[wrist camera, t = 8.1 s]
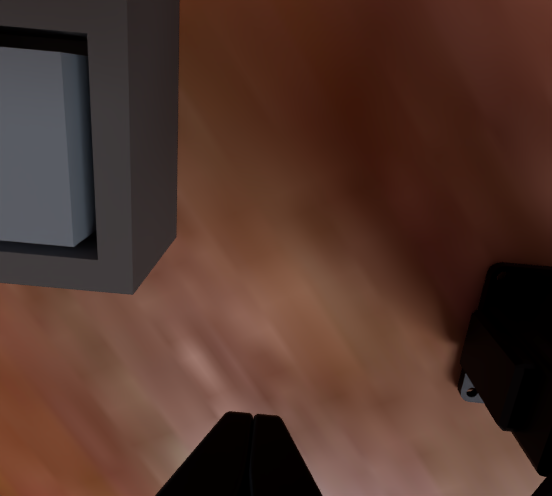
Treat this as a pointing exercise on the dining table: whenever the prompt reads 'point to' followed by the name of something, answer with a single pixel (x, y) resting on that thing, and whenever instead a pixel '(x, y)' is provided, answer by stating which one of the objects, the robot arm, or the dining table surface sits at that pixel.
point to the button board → (110, 137)
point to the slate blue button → (45, 148)
